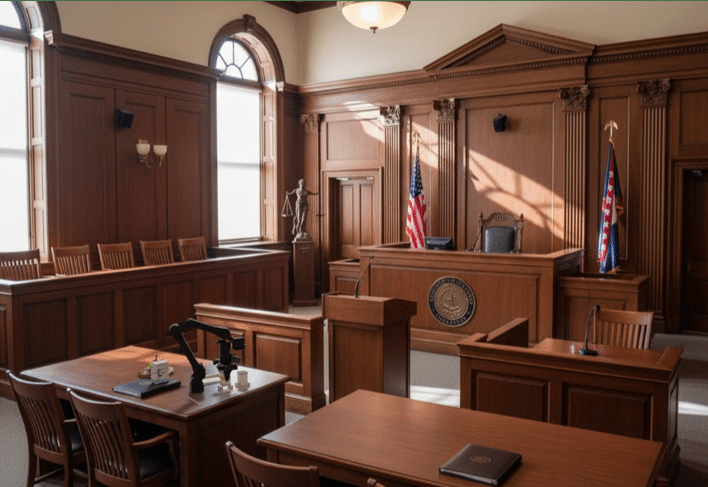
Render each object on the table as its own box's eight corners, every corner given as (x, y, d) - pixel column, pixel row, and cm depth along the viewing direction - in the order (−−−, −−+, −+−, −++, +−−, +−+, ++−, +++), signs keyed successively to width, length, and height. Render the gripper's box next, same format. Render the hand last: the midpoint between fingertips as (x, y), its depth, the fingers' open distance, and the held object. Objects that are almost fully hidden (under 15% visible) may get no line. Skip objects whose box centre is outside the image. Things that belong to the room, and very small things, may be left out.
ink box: (163, 380, 371) (163, 359, 371) (169, 381, 368) (169, 360, 368) (150, 383, 364) (150, 362, 364) (156, 385, 361) (156, 363, 361)
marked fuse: (223, 386, 346) (223, 371, 346) (220, 385, 350) (219, 370, 349) (230, 385, 349) (230, 370, 348) (227, 383, 352) (227, 368, 352)
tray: (204, 386, 358) (204, 383, 358) (193, 380, 370) (193, 377, 370) (230, 382, 367) (230, 378, 366) (218, 376, 379) (218, 373, 379)
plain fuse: (240, 387, 352) (240, 373, 352) (237, 386, 355) (237, 371, 355) (247, 386, 355) (247, 371, 354) (244, 384, 358) (244, 370, 357)
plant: (177, 369, 397) (176, 351, 396) (171, 378, 378) (171, 358, 377) (142, 370, 395) (142, 351, 394) (135, 378, 376) (134, 359, 375)
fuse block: (221, 394, 343) (221, 388, 343) (214, 390, 351) (214, 385, 350) (253, 388, 354) (253, 383, 354) (245, 385, 361) (245, 379, 361)
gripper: (246, 352, 345) (247, 381, 346) (231, 346, 360) (231, 374, 361) (227, 355, 339) (227, 385, 340) (212, 348, 354) (212, 377, 355)
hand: (225, 380), depth 349 cm, fingers closed on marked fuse, 4 cm apart
